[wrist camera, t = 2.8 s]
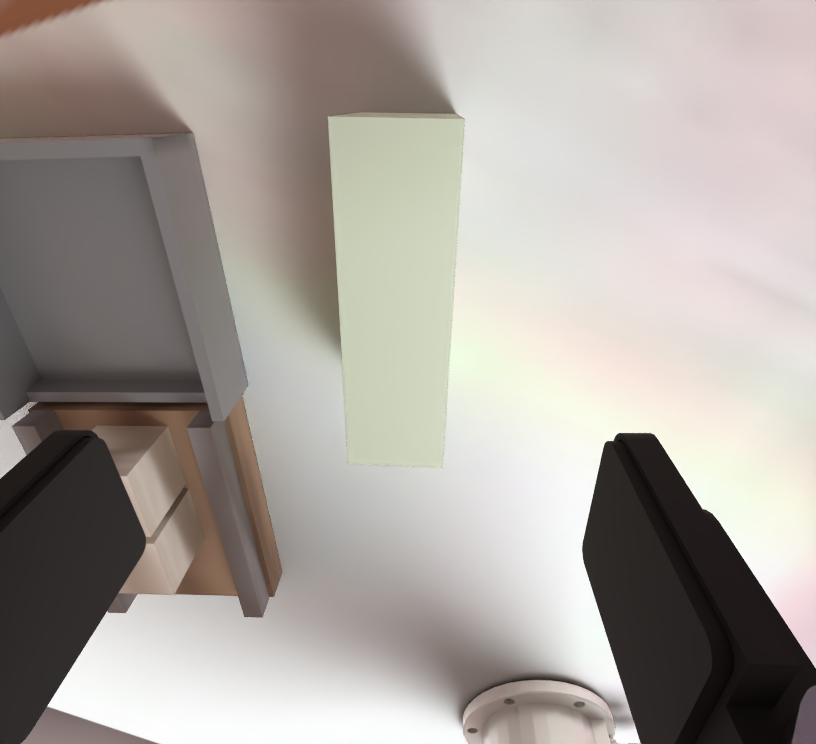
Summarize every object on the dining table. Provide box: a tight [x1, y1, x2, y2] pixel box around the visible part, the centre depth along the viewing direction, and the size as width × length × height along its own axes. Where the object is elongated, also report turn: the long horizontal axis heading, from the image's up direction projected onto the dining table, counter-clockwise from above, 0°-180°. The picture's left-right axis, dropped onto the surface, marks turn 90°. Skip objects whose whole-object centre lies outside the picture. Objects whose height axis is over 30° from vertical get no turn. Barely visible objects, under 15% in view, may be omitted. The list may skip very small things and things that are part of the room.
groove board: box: [12, 395, 282, 617], centre depth 30 cm, size 11×15×4 cm
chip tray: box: [0, 133, 248, 421], centre depth 23 cm, size 12×13×4 cm
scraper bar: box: [328, 112, 465, 468], centre depth 20 cm, size 4×13×7 cm, turn 179°
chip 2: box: [119, 489, 204, 595], centre depth 28 cm, size 4×4×4 cm
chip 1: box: [92, 426, 186, 537], centre depth 25 cm, size 4×4×4 cm
